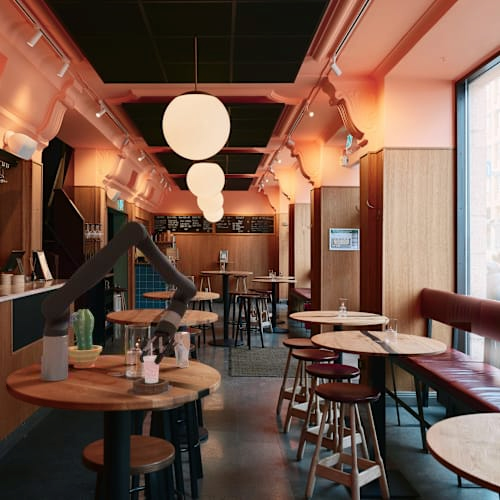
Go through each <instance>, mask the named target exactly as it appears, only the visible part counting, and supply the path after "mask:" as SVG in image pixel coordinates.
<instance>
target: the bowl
mask: <svg viewBox="0 0 500 500" xmlns="http://www.w3.org/2000/svg"><path fill="white" fill-rule="evenodd" d="M169 381H170V380H169V379H168V378H165V377H159V376H158V382H156V383H145V377H141V378H138V379H134V380H133V382H132V388H133V389H134V392H136V393H140V394H139V395H158V394H157V393H162V392H165V391H167V390H168V387H169V385H170V383H169Z"/></svg>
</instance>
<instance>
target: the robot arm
mask: <svg viewBox="0 0 500 500" xmlns="http://www.w3.org/2000/svg"><path fill="white" fill-rule="evenodd" d="M133 247H135V248H136V249H137V250H138V251H140V253H142V255H143V256H144V257H145V258H146V260H147V261H148V262H149V264H150V266H151V267H152V268H153V270H154V271H155V272H156V274H157V275H158V276H159V277H160V278H161V280H162V281H163V282H164V283H165V285H167V286H174V287H175V288H176V289H175V291H174V293H173V294H172V296H171V300H170V303H169V305H168V306H167V308H166V309H165V312H164V313H163V315H162V316H161V318H160V319H159V321H158V323H157V325H156V326H155V329H154V330H153V331H154V332H153V334H152V336H151V337H148V336H147V335H146V336H144V337H143V338H142V341H141V344H140V345H139V349H140V350H139V351H141V354H140V355H139V362H140V363H141V364H144V360H143V357H144V356H149V354H151V343H152V352H153V351H155V350H156V349H158V350H159V353H157V355H156V356H157V357H156V359H155V361H154V362H155V364H156V365H159V366H160V364H161V363H162V360H163V358H164V357H165V356H170V355H171V354H172V352H173V350H175V346H176V344H177V343H176V341H175V340H174V338H175V333H176V332H178V329H179V327H180V325H181V323H182V320H183V318H184V316H185V314H186V313H187V306H188V304H189V302H190V301H192V299H194V298H195V297H196V296H197V295H198V289H197V286H196V284H195V283H194V282H193V281H192V280H191V279H189V278H188V277H187V276H185V275H184V274H183V273H181V272H180V271H179V270H178V269H177V267H176V266H175V265H174V264H173V263H172V261H170V259H169V258H168V257H167V256H166V255H165V254H164V253H163V252H162V251H161V250H160V249H159V247H158V245H156V243H155V242H154V240H153V239H152V238H151V236H150V234H149V232H148V231H147V228H146V226H145V225H144V224H142V223H141V222H139V221H137V220H132V221H128V222H126V223H125V224H124V225H123V226H122V227H121V228H120V230H118V231H117V233H116V234H115V235H114V236H113V237H112V238H111V240H110V241H108V243H107V244H105V245H104V246H103V247H101V248H100V249H99V250H98V251H96V252H95V253H94V254H93V255H92V256H91V257H89V258H88V260H86V261H85V262H84V263H83V264H82V265H80V267H79V268H78V269H77V270H76V271H75V272H74V273H73V274H72V276H71V277H69V279H68V280H67V281H66V282H64V284H63V285H62V286H60V287H59V288H57V289H56V290H55V291H53V293H51V294H49V296H47V297H46V298H44V300H43V301H42V304H41V307H40V308H41V310H40V311H41V313H42V315H43V316H44V317H45V319H46V320H45V325H44V328H43V338H42V339H43V343H42V344H43V346H42V347H43V348H42V349H43V354H42V355H41V359H40V361H41V365H40V367H41V369H40V379H41V380H40V381H47V382H57V381H64V380H67V379H69V377H68V376H69V353H68V348H69V330H70V326H71V324H70V316H71V305H72V304H73V303H75V300H77V299H78V298H79V297H81V296H82V295H83V294H84V293H86V292H87V291H89V290H90V289H92V288H93V287H95V286H96V285H97V284H99V283H100V282H101V280H103V279H104V278H105V277H106V276H107V275H108V274H109V273H110V272H111V271H112V270H113V268H114V267H115V266H116V264H118V263H117V262H118V261H119V260H120V258H121V257H123V256H124V255H125V253H127V252H128V251H129V250H130V249H131V248H133Z"/></svg>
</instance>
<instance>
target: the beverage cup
mask: <svg viewBox="0 0 500 500" xmlns="http://www.w3.org/2000/svg"><path fill="white" fill-rule="evenodd" d="M152 347H153V346H152V343H151V352H150V355H148V356H144V357H143V360H144V363H143V367H144V370H143V371H144V378H145V383H156V382H158V377H159V373H160V372H159V371H160V364H159V365H156V364H155V362H154V361H155V359H156V357H157V355H153V351H152Z"/></svg>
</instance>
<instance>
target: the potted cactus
mask: <svg viewBox="0 0 500 500" xmlns="http://www.w3.org/2000/svg"><path fill="white" fill-rule="evenodd" d="M94 324H95V317H94V316H93V314H92V312H91V311H90V310H89V308H87V309H85V308H83V309H78V310H77V312H76V311H75V312H73V313H72V314H71V313H70V326H71V327H72V330H73V332H74V334H75V339H76V344H77V345H74V346H68V357H69V359H70V361H71V362H72V364H73V368H74V369H89V368H93V367H95V366H96V365H95V364H96V362H97V360H98V359H99V357H100V353H101V352H102V351H103V346H101V345H94V344H93V332H94V331H93V330H94V327H95V326H94Z"/></svg>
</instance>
